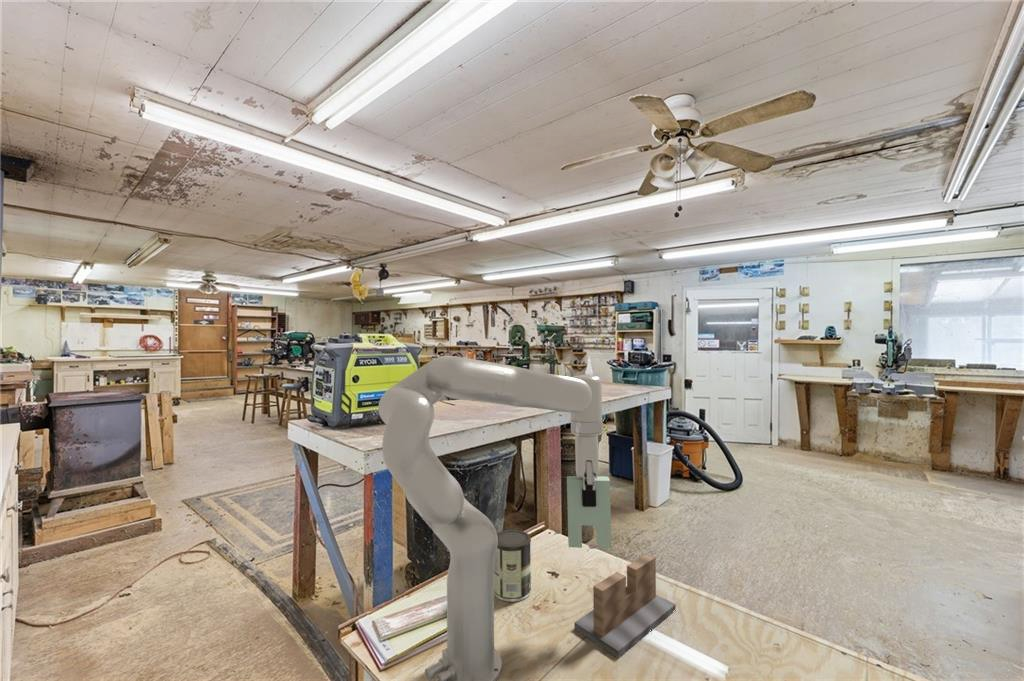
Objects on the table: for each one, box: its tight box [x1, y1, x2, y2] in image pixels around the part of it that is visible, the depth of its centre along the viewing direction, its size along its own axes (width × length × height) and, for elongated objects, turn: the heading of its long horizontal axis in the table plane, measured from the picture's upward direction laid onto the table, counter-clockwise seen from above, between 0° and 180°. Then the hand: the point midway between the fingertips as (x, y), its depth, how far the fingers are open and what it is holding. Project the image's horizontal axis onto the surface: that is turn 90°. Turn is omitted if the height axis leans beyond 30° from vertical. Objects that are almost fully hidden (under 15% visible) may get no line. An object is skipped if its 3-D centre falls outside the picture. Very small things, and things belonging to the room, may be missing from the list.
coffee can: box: [494, 529, 532, 603], centre depth 111 cm, size 10×10×14 cm
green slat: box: [566, 475, 612, 550], centre depth 100 cm, size 3×10×16 cm, turn 84°
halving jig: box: [574, 553, 677, 659], centre depth 100 cm, size 24×12×12 cm, turn 131°
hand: (588, 502), depth 100 cm, fingers closed on green slat, 3 cm apart
